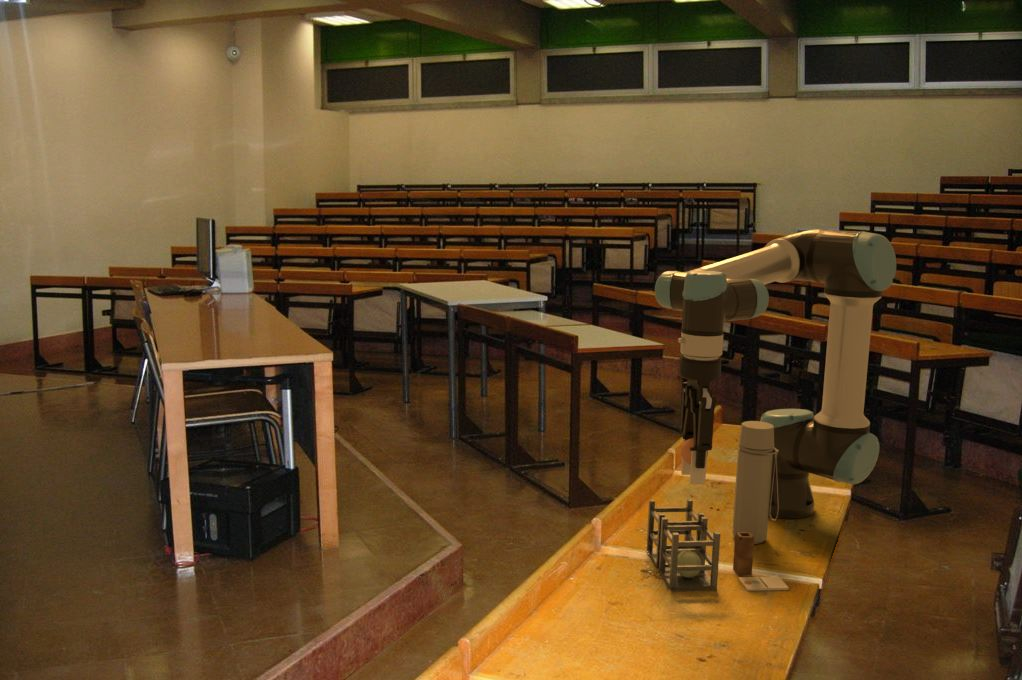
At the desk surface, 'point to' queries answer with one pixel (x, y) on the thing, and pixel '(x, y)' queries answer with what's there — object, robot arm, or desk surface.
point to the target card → (763, 583)
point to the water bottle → (754, 479)
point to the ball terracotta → (687, 450)
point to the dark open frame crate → (702, 578)
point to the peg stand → (743, 553)
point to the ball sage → (688, 563)
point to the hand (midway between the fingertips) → (692, 478)
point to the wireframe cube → (651, 533)
